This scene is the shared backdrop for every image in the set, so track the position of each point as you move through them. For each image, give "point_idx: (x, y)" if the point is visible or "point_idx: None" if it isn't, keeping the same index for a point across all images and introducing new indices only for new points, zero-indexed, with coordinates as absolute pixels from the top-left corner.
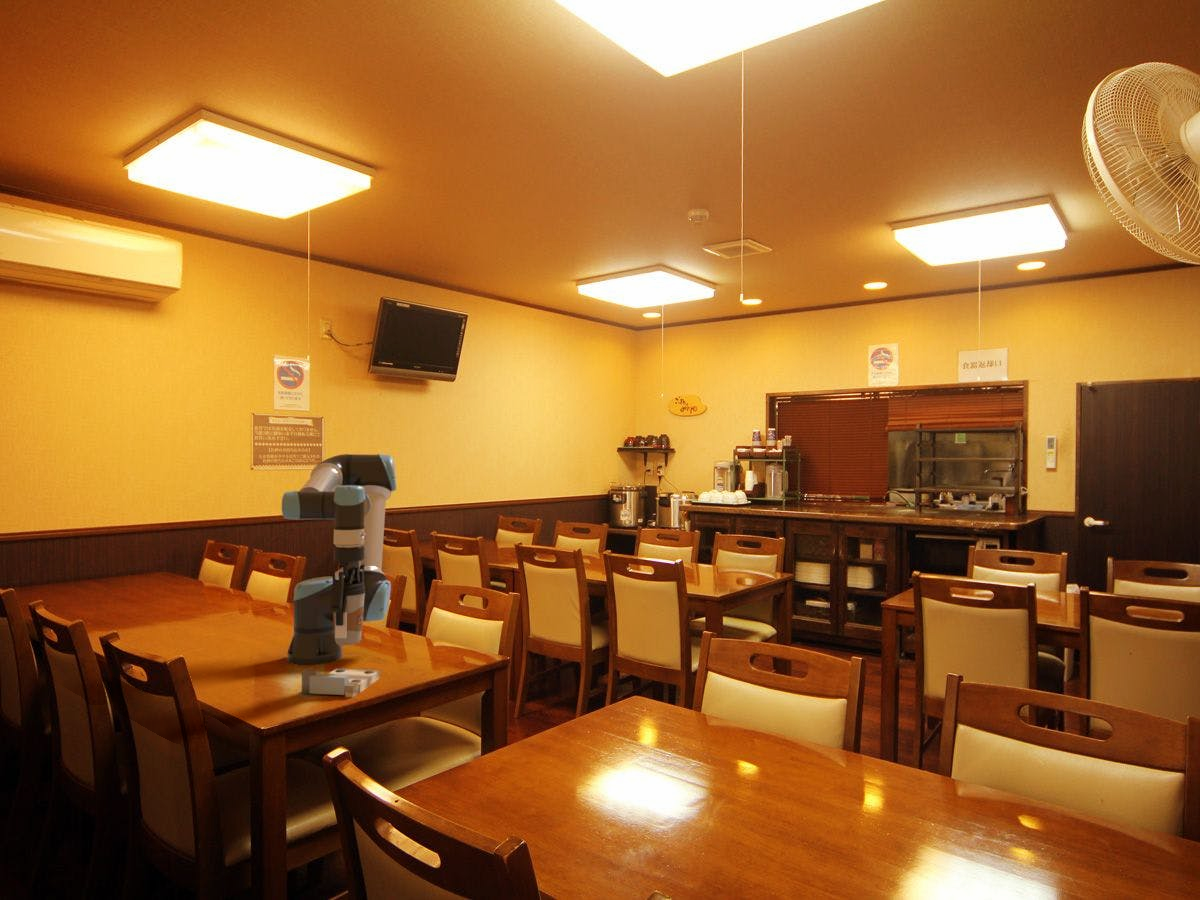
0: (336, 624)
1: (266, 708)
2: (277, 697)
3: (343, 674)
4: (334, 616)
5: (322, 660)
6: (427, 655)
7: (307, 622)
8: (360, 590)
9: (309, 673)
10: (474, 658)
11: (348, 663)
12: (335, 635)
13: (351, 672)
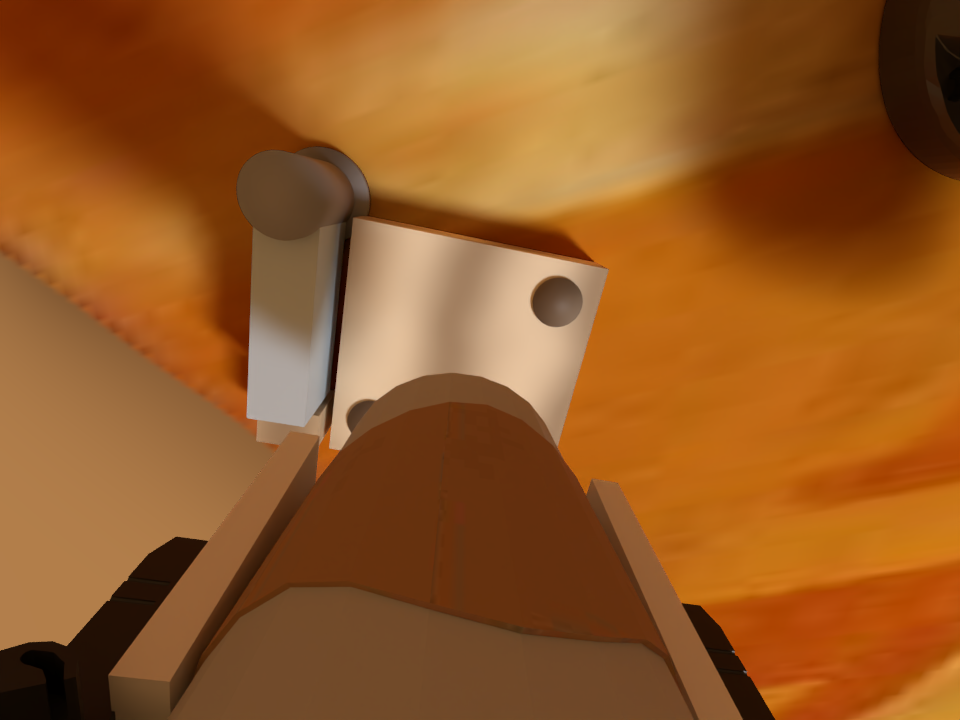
0: (162, 552)
1: (90, 32)
2: (271, 29)
3: (493, 334)
4: (293, 542)
5: (902, 98)
6: (876, 568)
7: None
8: None
9: (244, 214)
10: (776, 711)
11: (854, 254)
12: (280, 445)
13: (526, 364)
